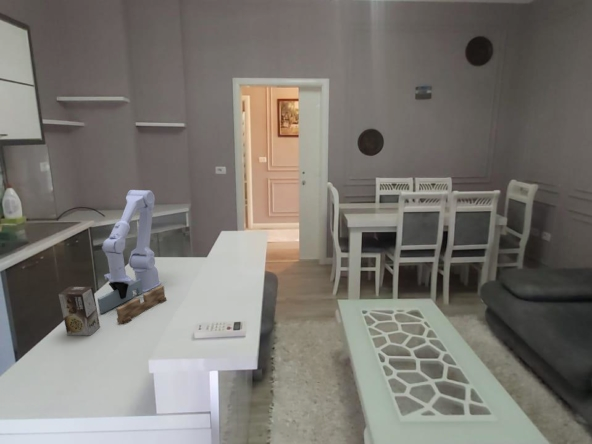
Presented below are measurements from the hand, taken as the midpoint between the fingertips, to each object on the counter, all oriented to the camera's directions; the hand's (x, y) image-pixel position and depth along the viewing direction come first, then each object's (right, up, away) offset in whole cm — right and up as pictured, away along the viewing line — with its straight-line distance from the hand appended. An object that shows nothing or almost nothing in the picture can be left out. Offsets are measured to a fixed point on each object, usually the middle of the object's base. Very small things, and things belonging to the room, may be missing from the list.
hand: (121, 297), depth 159 cm
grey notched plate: (0, -2, +1) cm, 2 cm away
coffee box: (-5, -8, -20) cm, 22 cm away
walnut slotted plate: (+11, -4, -6) cm, 13 cm away
